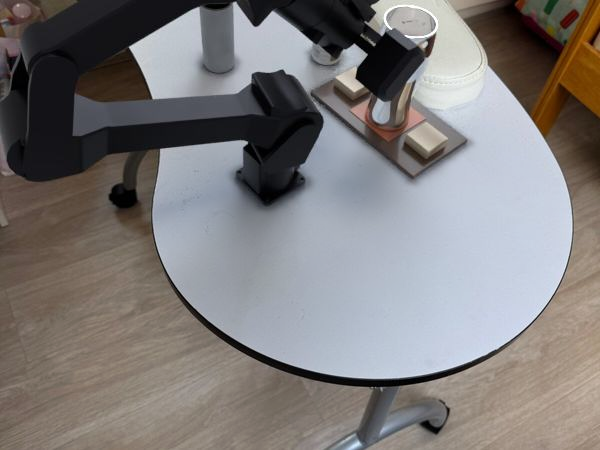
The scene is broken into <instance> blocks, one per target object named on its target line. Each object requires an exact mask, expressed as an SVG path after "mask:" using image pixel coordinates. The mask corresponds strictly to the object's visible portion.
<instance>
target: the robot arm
mask: <svg viewBox="0 0 600 450" xmlns="http://www.w3.org/2000/svg"><path fill="white" fill-rule="evenodd" d="M378 2H380V0H78V1H76V2H74V3H73V4H72V5H70V6H68V7H66V8H64V9H63V10H61V11H59V12H58V13H56V14H54V15H53V16H51V17H50V18H47V19H46V20H38V21H35V22H32V23H30V24H29V25H27V26H26V27H25V28H24V29H23V32H22V34H21V36H20V38H19V51H18V55H17V58H16V60H15V63H14V64H13V67H12V69H11V72H10V81H9V88H8V93H7V95H6V96H5V97H4V98H3V99H1V101H0V139H1V140H0V141H1V144H2V148H3V152H4V156H5V160H6V164H7V167H8V169H9V170H10V171H11V172H13V173H14V174H15V175H16V176H19V177H21V178H23V179H24V181H25V182H31V183H44V182H52V181H55V180H59V179H63V178H67V177H68V178H69V177H71V176H76V175H80V174H83V173H85V172H86V171H87V170H89V169H90V168H93V166H95V165H96V164H97V163H98V162H100V161H101V160H102V159H104V158H106V157H107V156H110V155H116V154H117V155H118V154H127V153H135V152H143V151H155V150H164V149H172V148H183V147H192V146H202V145H211V144H219V143H220V144H221V143H230V142H237V141H238V142H239V141H242V142H243V141H244V142H246V143H247V144H246V145H243V147H242V167H240V168H238V169H237V170H235V177H236V178H237V179H238V180H239V181H240V182H241V183H242V185H244V186H245V187H246V188H247V189H248V191H250V192H251V193H252V194H253V195H254V196H255V197H256V198H257V199H258V200H259V202H261V203H262V204H263V205H264V206H270V205H272V204H274V203H275V202H276V201H278V200H280V199H281V198H283V197H285V196H287V195H288V194H290V193H291V192H293V191H295V190H297V189H298V188H300V187H301V186H303V185H304V184H305V183H306V177H305V176H304V175H302V173H300V171H299V170H300V167H301V165H304V164H306V162H307V160H308V158H309V156H310V154H311V152H312V151H313V148H314V147H315V145H316V142H317V141H318V139H319V137H320V134H321V132H322V130H323V128H324V124H325V120H324V116H323V114H322V113H321V112H320V111H321V110H319V109H318V107H317V105H316V104H315V102H314V101H313V99H312V98H311V96H310V94H309V93H308V92H307V91H306V89H305V88H304V86H303V84H302V83H301V81H299V79H298V78H297V77H296V76H295V75H293V74H289V73H287V72H286V71H285V70H284V69H283V68H282V69H279V70H276V71H272V72H264V71H254V72H252V73H251V80H250V83H249V84H248V85H246V86H245V87H244V88H243V89H241V90H240V91H239V92H237V93H229V94H228V93H227V94H213V95H212V94H210V95H197V96H184V97H183V96H182V97H168V98H153V99H152V98H151V99H139V100H138V99H137V100H123V101H120V100H119V101H108V102H103V101H96V100H93V99H91V98H89V97H86V96H83V95H80V94H77V93H76V91H77V86H78V81H79V77H81V76H83V75H84V74H86V73H87V72H89V71H91V70H93V69H95V68H96V67H97V66H100V65H101V64H103V63H105V62H106V61H108V60H110V59H111V58H113V57H115V56H116V55H118V54H120V53H121V52H123V51H125V50H127V49H128V48H130V47H132V46H133V45H135V44H137V43H139V42H140V41H141V40H144V39H145V38H147V37H149V36H150V35H152V34H154V33H155V32H157V31H159V30H160V29H162V28H164V27H166V26H167V25H169V24H171V23H173V22H174V21H176V20H177V19H179V18H181V17H182V16H184V15H185V14H187V13H189V12H191V11H193V10H195V9H198V8H199V7H200V6H203V5H206V4H222V3H233V4H234V3H236V5H237V6H238V7H239V9H240V11H242V13H243V14H244V16H245V17H246V18H247V20H248V21H249V22H250V24H251V25H252V26H253V27H254V28H258V27H260V25H262V24H263V22H264V21H265V20H266V19H267V18H268V17H269V15H271V13H272V12H273V13H275V14H276V15H278V16H279V17H280V18H281V19H283V20H284V21H285V22H287V23H288V24H290V25H291V26H292V27H294V28H295V29H296V30H297V31H299V32H300V33H301V34H302V35H304V36H305V37H306V38H307V39H308V40H309V41H311V42H312V44H313V43H314V44H316V45H317V44H318V45H320V47H322V48H323V49H324V50H325V51H326V52H327V53H329V54H330V55H331V56H332V57H334V58H335V59H337V58H338V56H339V55H340V54H341V55H342V53H343V51H344V50H345V51H347V50H348V49H349V48H351V47H352V46H354V45H355V46H356V47H358V48H359V49H360V50H361V51H362V52H364V53H365V54H366V56H365V58H363V60H362V61H361V63H360V64H359V65H358V66H357V67H358V68H357V71H356V77H355V79H356V80H357V81H359V82H360V83H361V84H362V85H363V86H364V87H366V88H367V89H368V90H369V91H370V92H371V93H372V94H374V95H375V96H376V97H377V98H379V99H380V100H381V101H383V102H389V101H392V100H393V98H394V97H395V96H396V95H397V93H398V92H399V91H400V90H401V89H402V87H403V86H404V85H405V84H406V82H407V81H408V80H409V79H410V78H411V76H412V75H413V74H414V73H415V71H416V70H417V69H418V68H419V66H420V65H421V64H422V63H423V62H424V60H425V52H424V51H423V50H422V49H421V48H420V47H419V46H418V45H417V44H415V43H414V42H413V41H411V40H410V39H409V38H407V37H406V36H405V35H404V34H402V33H401V32H400V31H398V30H397V29H396V28H393V29H391V30H389V31H387V32H385V33H384V34H383V36H381V35H380V34H379V32H378V31H376V30H375V29H374V28H373V27H372V26H370V25H369V23H370V22H371V21H372V20H373V18H374V17H375V16H376V15H377V11H376V10H375V9H374V8H373V7H372V5H376V4H377V3H378ZM362 35H363V36H364V37H365V38H364V37H363V36H362ZM366 38H367V39H366ZM369 41H370V42H372V43H370V42H369ZM373 44H375V45H373Z"/></svg>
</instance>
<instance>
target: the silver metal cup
mask: <svg viewBox="0 0 600 450" xmlns="http://www.w3.org/2000/svg"><path fill="white" fill-rule="evenodd" d="M439 27H440V25H439V21H438V19H437V18H436V16H435V15H434V14H433V13H432V12H430V11H428V10H427V9H425V8H422V7H420V6H416V5H411V4H401V5H400V4H399V5H396V6H393V7H390V8H389V9H387V10H386V11H385V12H384V14H383V17H382V22H381V25H380V28H379V31H378V33H379V34H380V35H381V36H383V34H384V33H385V32H387V31H389V30H391V29H393V28H396V29H397V30H398V31H400V32H401V33H402V34H404V35H405V36H406V37H407V38H409V39H410V40H411V41H413V42H414V43H415V44H417V45H418V46H419V47H420V48H421V49H422V50H423V51H424V52H425V60H424V62H423V63H422V64H421V65H420V66H419V68H418V69H417V70H416V71H415V73H414V74H413V75H412V76H411V78H410V79H409V80H408V81H407V82H406V84H405V85H404V86H403V87H402V89H401V90H400V91H399V92H398V93H397V95H396V96H395V97H394V98H393V100H392V101H389V102H383V101H381V100H380V99H379V98H377V97H376V96H375V95H374V94H372V96H371V99H370V101H369V103H368V105H367V107H366V111H365V114H366V118H367V120H368V121H369V122H370V123H371V124H372V125H373V126H375V127H377V128H379V129H382V130H387V131H394V130H399V129H401V128H403V127H404V126H405V125H406V124H407V123H408V121H409V110H410V104H411V100H412V98H414V95H415V93H416V91H417V89H418V88H419V86H420V84H421V82H422V81H423V78H424V77H425V75H426V72H427V70H428V68H429V66H430V62H431V60H432V56H433V52H434V49H435V44H436V40H437V35H438V30H439Z"/></svg>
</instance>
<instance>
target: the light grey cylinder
mask: <svg viewBox="0 0 600 450" xmlns="http://www.w3.org/2000/svg"><path fill="white" fill-rule="evenodd" d="M198 8H199V9H198V10H199V11H198V12H199V22H200V33H201V35H200V36H201V47H202V48H201V49H202V61H203V66H204V67H205V68H206V69H207V70H208V71H209V72H211V73H215V74H221V73H223V74H224V73H227V72H229V71H231V70H232V69H234V66H235V64H236V63H235V61H236V59H235V58H236V57H235V56H236V55H235V24H234V23H235V19H234V18H235V17H234V14H235V13H234V3H222V4H206V5H203V6H200V7H198Z"/></svg>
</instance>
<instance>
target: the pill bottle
mask: <svg viewBox="0 0 600 450" xmlns="http://www.w3.org/2000/svg"><path fill="white" fill-rule="evenodd" d="M311 47H312V48H311V58H312V59H313V60H314V61H315V62H316V63H318V64H320V65H323V66H331V65H335V64H337V63H338V62H339V61H340V59H341V56H342V53H341V54H340V55H339V56H338V58H337V59H335V58H334V57H332V56H331V55H330V54H329V53H327V52H326V51H325V50H324V49H323V48H322V47H320V45H318V44H317V45H316V44H314V43H313V42H312V46H311Z"/></svg>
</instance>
